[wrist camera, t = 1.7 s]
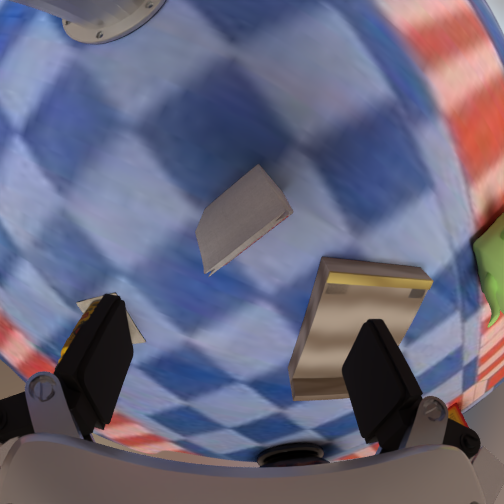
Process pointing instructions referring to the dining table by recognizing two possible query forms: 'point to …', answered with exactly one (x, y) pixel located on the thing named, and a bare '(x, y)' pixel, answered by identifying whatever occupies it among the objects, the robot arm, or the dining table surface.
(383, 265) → the dock
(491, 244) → the kettle
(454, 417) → the baking soda box
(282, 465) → the amphora vase
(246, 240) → the small white carton
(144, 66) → the dining table surface
